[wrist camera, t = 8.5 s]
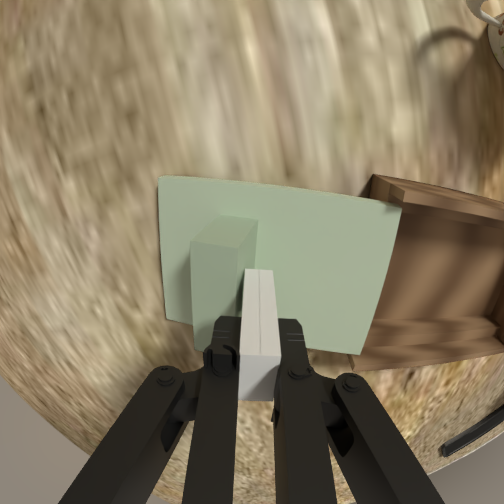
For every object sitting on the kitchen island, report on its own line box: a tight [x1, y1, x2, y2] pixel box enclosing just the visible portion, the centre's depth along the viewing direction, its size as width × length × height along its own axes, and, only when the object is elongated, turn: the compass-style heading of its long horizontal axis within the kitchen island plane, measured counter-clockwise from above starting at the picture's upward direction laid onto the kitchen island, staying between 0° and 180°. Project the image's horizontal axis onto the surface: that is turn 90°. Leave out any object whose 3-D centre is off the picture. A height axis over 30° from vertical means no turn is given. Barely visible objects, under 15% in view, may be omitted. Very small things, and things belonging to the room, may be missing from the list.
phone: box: [441, 405, 504, 457], centre depth 36 cm, size 8×1×15 cm
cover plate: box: [158, 175, 402, 355], centre depth 18 cm, size 15×11×6 cm
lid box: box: [347, 174, 504, 371], centre depth 19 cm, size 18×13×5 cm
